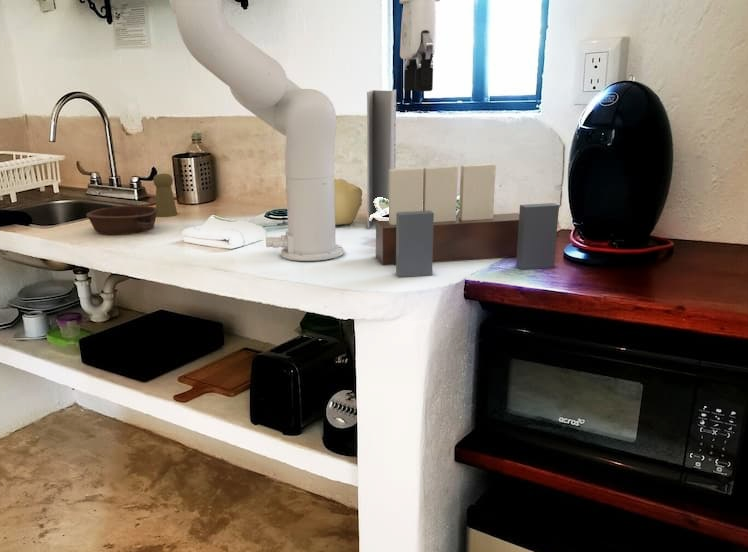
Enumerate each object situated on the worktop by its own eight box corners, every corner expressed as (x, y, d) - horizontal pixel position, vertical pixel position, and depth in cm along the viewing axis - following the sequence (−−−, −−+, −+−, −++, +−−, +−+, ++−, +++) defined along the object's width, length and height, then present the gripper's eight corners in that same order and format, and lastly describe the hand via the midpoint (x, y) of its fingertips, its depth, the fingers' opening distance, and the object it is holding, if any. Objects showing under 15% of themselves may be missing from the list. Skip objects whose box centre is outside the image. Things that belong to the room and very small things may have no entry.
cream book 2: (424, 223, 145) (425, 168, 142) (422, 221, 147) (423, 167, 144) (456, 221, 146) (457, 166, 142) (453, 219, 147) (454, 165, 144)
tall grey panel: (391, 228, 178) (392, 90, 167) (367, 228, 179) (366, 92, 168) (395, 217, 191) (396, 89, 180) (372, 218, 192) (372, 90, 181)
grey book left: (398, 277, 136) (399, 214, 132) (395, 273, 139) (396, 212, 135) (432, 275, 136) (433, 212, 132) (428, 271, 139) (430, 210, 135)
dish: (121, 241, 180) (118, 220, 178) (70, 232, 194) (67, 212, 193) (179, 229, 191) (177, 208, 189) (127, 221, 206) (125, 202, 204)
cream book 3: (461, 220, 146) (463, 166, 142) (458, 218, 148) (460, 165, 144) (493, 218, 146) (495, 164, 142) (489, 217, 148) (492, 163, 144)
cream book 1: (390, 225, 145) (390, 170, 142) (388, 223, 147) (388, 169, 143) (422, 223, 145) (423, 168, 142) (419, 221, 147) (420, 167, 144)
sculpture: (369, 222, 187) (368, 176, 183) (339, 230, 179) (338, 183, 175) (331, 218, 194) (330, 175, 190) (301, 226, 186) (299, 181, 182)
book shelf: (382, 265, 145) (382, 228, 143) (375, 257, 152) (375, 221, 149) (528, 255, 146) (530, 219, 144) (515, 248, 153) (517, 212, 150)
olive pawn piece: (155, 213, 215) (151, 173, 211) (177, 212, 216) (173, 172, 212) (155, 217, 210) (150, 175, 206) (177, 215, 210) (173, 174, 206)
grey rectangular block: (520, 269, 137) (525, 207, 133) (515, 266, 139) (519, 204, 136) (554, 267, 137) (559, 205, 133) (548, 264, 140) (553, 202, 136)
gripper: (391, -2, 152) (390, 91, 158) (410, -11, 136) (408, 92, 142) (428, -3, 152) (426, 89, 158) (452, -13, 136) (448, 90, 142)
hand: (417, 90), depth 150 cm, fingers open, 9 cm apart
